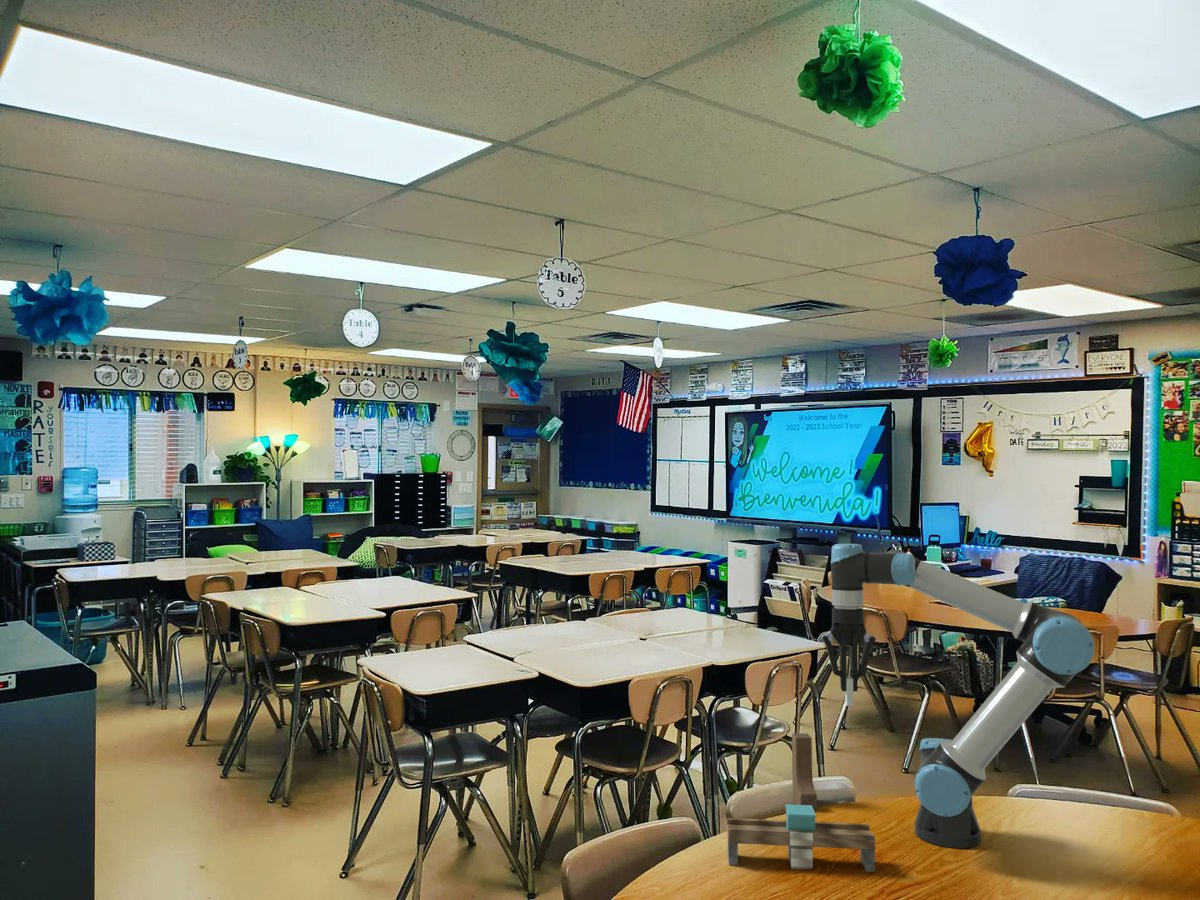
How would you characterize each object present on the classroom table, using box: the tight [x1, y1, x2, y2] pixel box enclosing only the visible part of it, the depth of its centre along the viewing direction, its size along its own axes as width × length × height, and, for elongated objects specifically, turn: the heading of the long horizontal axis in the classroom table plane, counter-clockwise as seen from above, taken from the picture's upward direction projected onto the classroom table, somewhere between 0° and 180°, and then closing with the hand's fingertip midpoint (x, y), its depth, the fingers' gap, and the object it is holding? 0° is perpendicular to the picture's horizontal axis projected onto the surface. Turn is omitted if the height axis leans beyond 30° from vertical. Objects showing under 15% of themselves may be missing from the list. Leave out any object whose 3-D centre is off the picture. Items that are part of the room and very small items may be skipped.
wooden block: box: [791, 732, 818, 812], centre depth 229 cm, size 9×4×18 cm, turn 0°
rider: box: [784, 803, 817, 831], centre depth 192 cm, size 6×6×5 cm
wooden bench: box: [726, 817, 876, 873], centre depth 192 cm, size 32×7×8 cm, turn 84°
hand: (849, 704), depth 206 cm, fingers closed
